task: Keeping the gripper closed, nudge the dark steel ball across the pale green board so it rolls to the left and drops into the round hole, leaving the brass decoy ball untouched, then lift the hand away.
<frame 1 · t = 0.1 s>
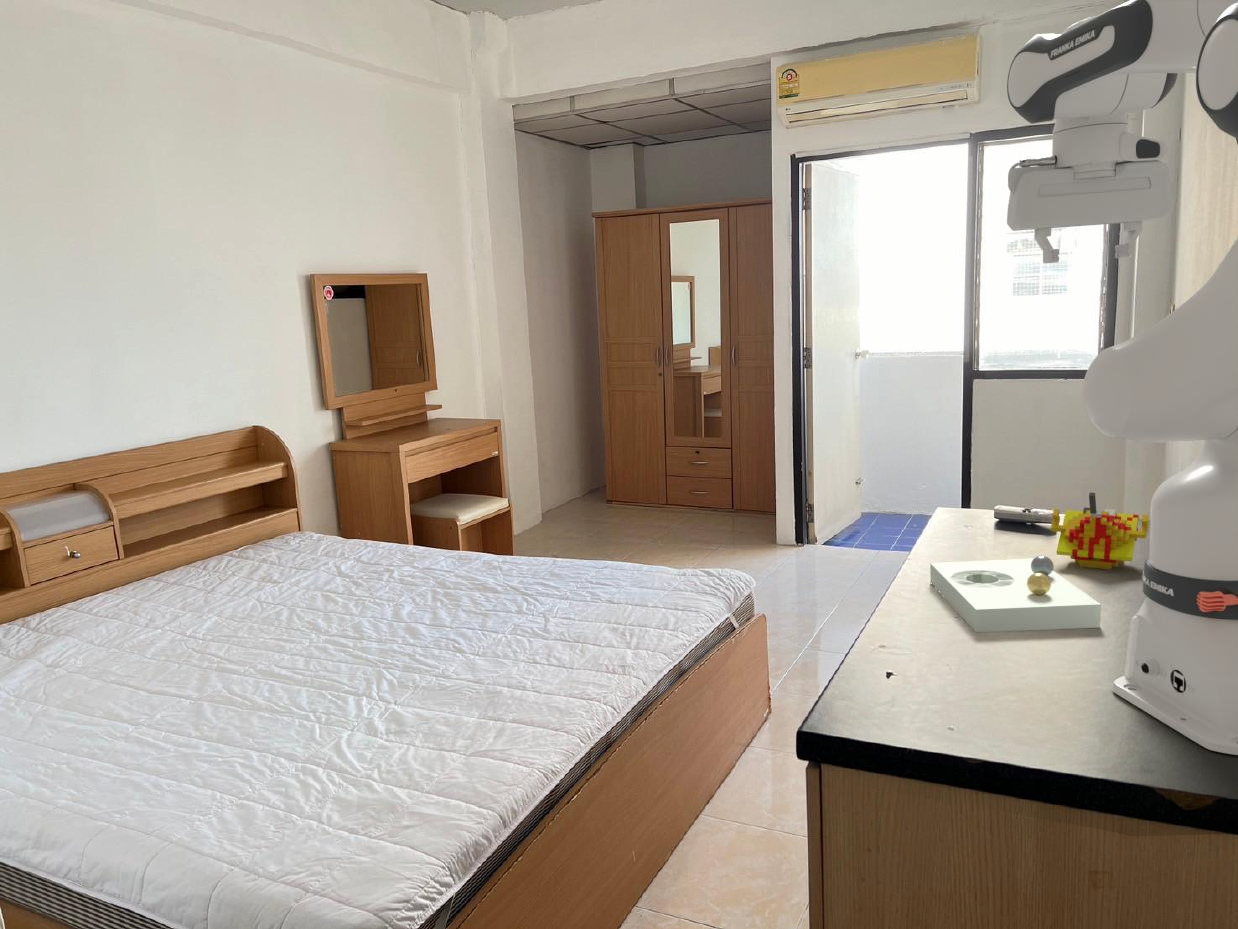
hand: (1087, 260, 122), 48 cm above the dresser, tool pointing down, fingers open, 8 cm apart
ball: (1042, 566, 132), point 5 cm above the dresser, touching board
toy: (1097, 565, 146), on the dresser
decoy ball: (1038, 583, 124), point 5 cm above the dresser, touching board
board: (1007, 603, 131), on the dresser
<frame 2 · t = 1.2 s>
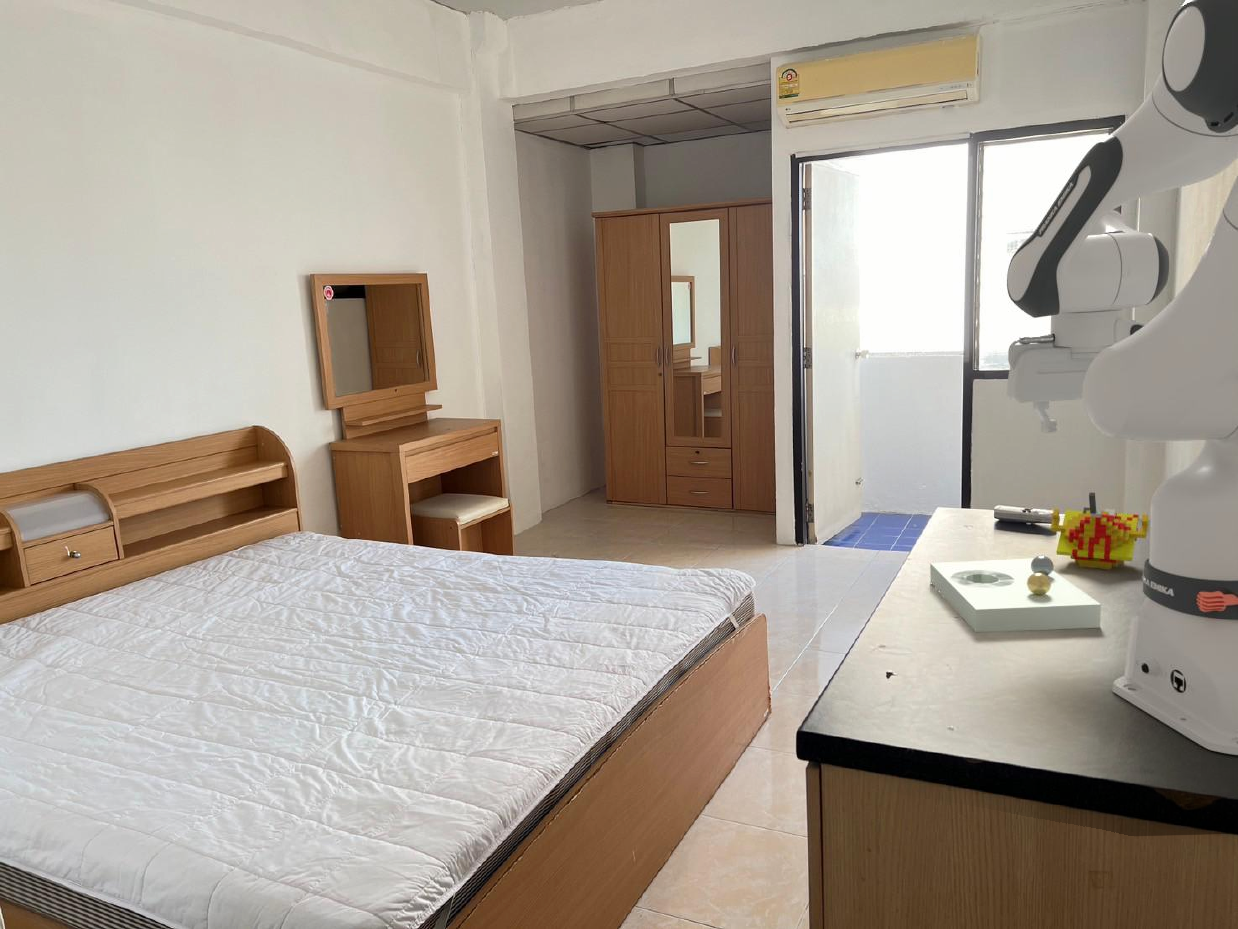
hand: (1083, 430, 128), 24 cm above the dresser, tool pointing down, fingers open, 8 cm apart
nothing on the dresser moved.
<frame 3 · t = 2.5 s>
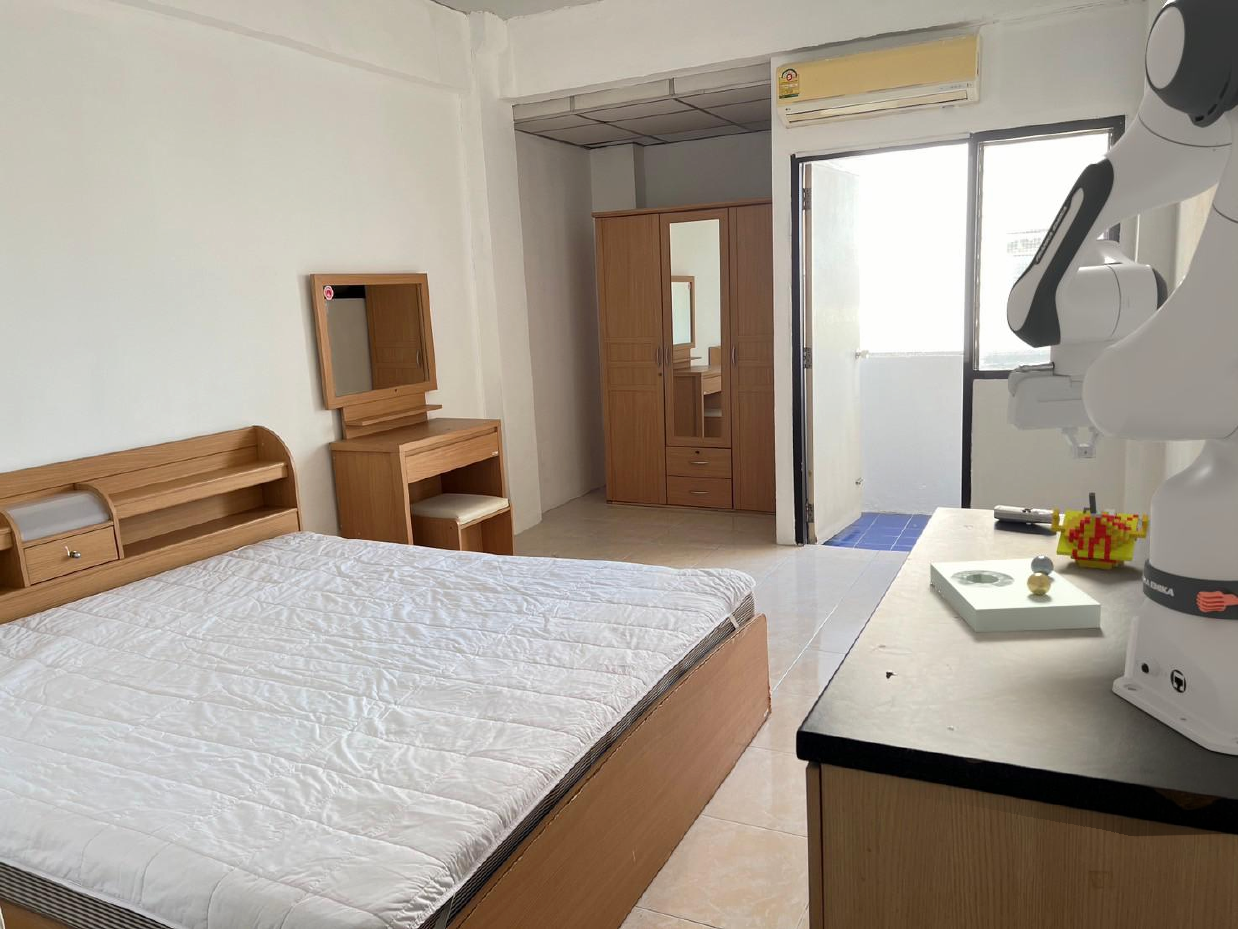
hand: (1082, 457, 129), 20 cm above the dresser, tool pointing down, fingers closed
nothing on the dresser moved.
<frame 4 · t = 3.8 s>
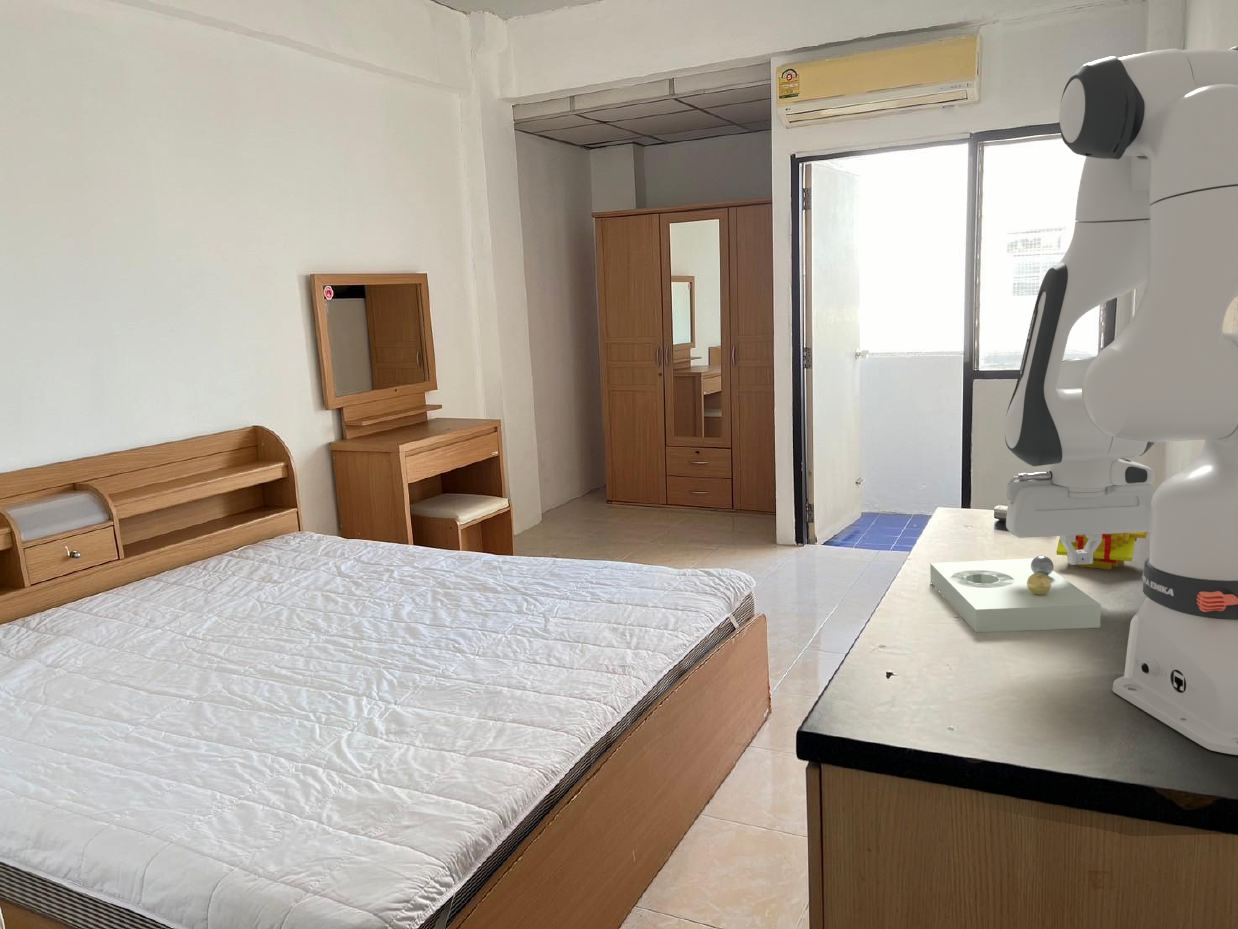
hand: (1079, 563, 131), 5 cm above the dresser, tool pointing down, fingers closed
nothing on the dresser moved.
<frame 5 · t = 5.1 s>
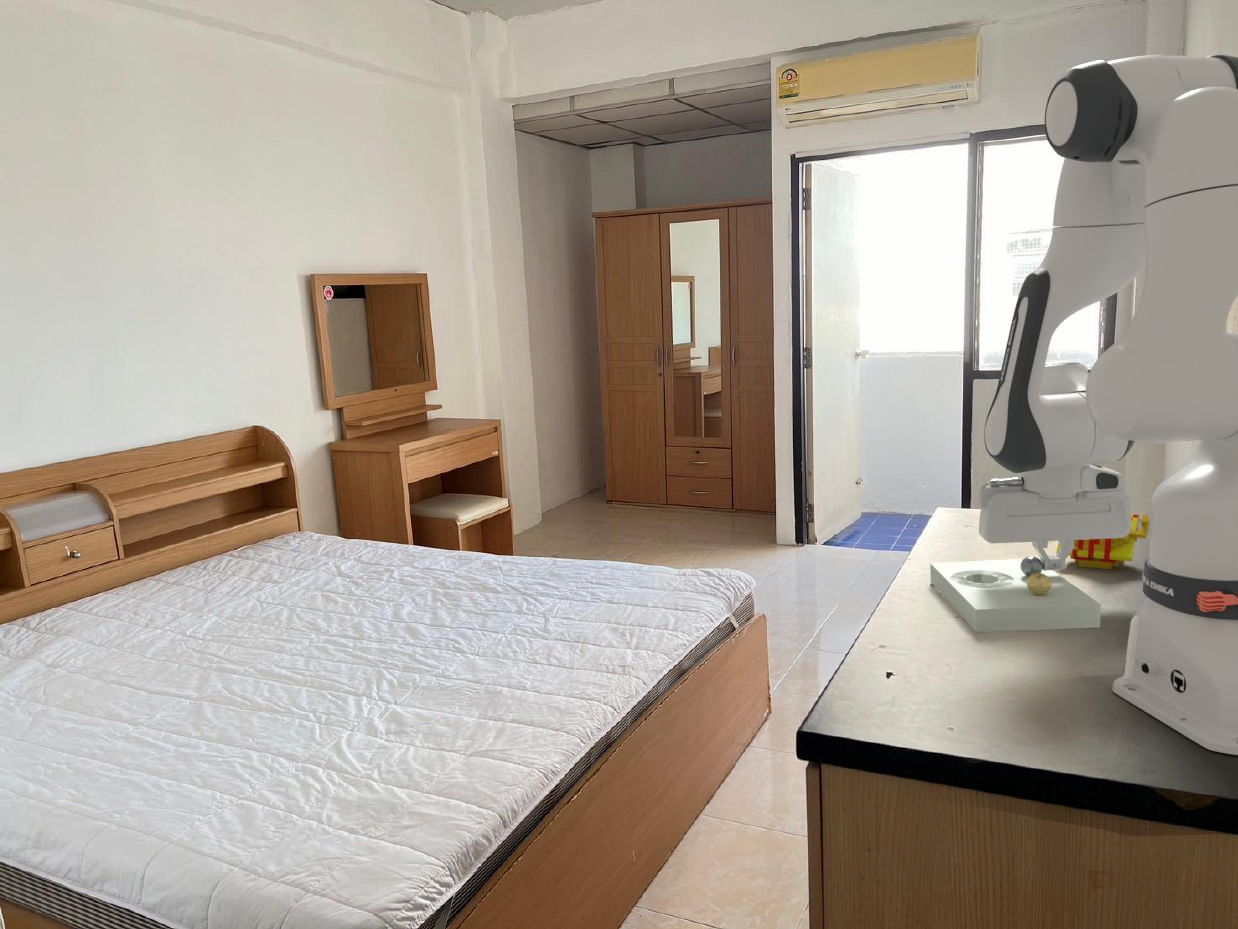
hand: (1052, 569, 132), 4 cm above the dresser, tool pointing down, fingers closed
ball: (1031, 566, 132), point 5 cm above the dresser, tilted 56°, touching board
everything else where it was.
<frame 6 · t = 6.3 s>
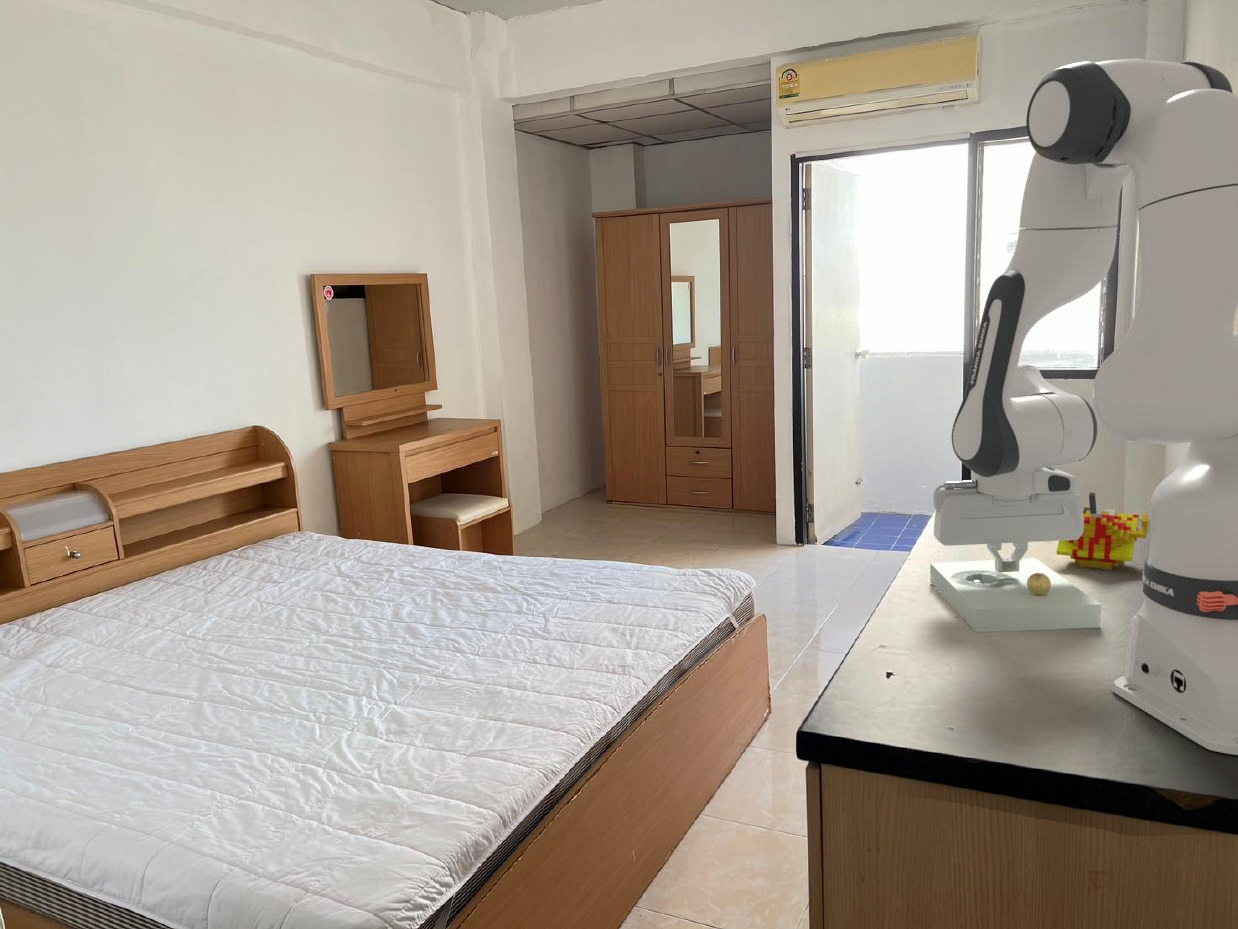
hand: (1006, 571, 132), 4 cm above the dresser, tool pointing down, fingers closed
ball: (976, 590, 133), point 1 cm above the dresser, tilted 32°
everything else where it was.
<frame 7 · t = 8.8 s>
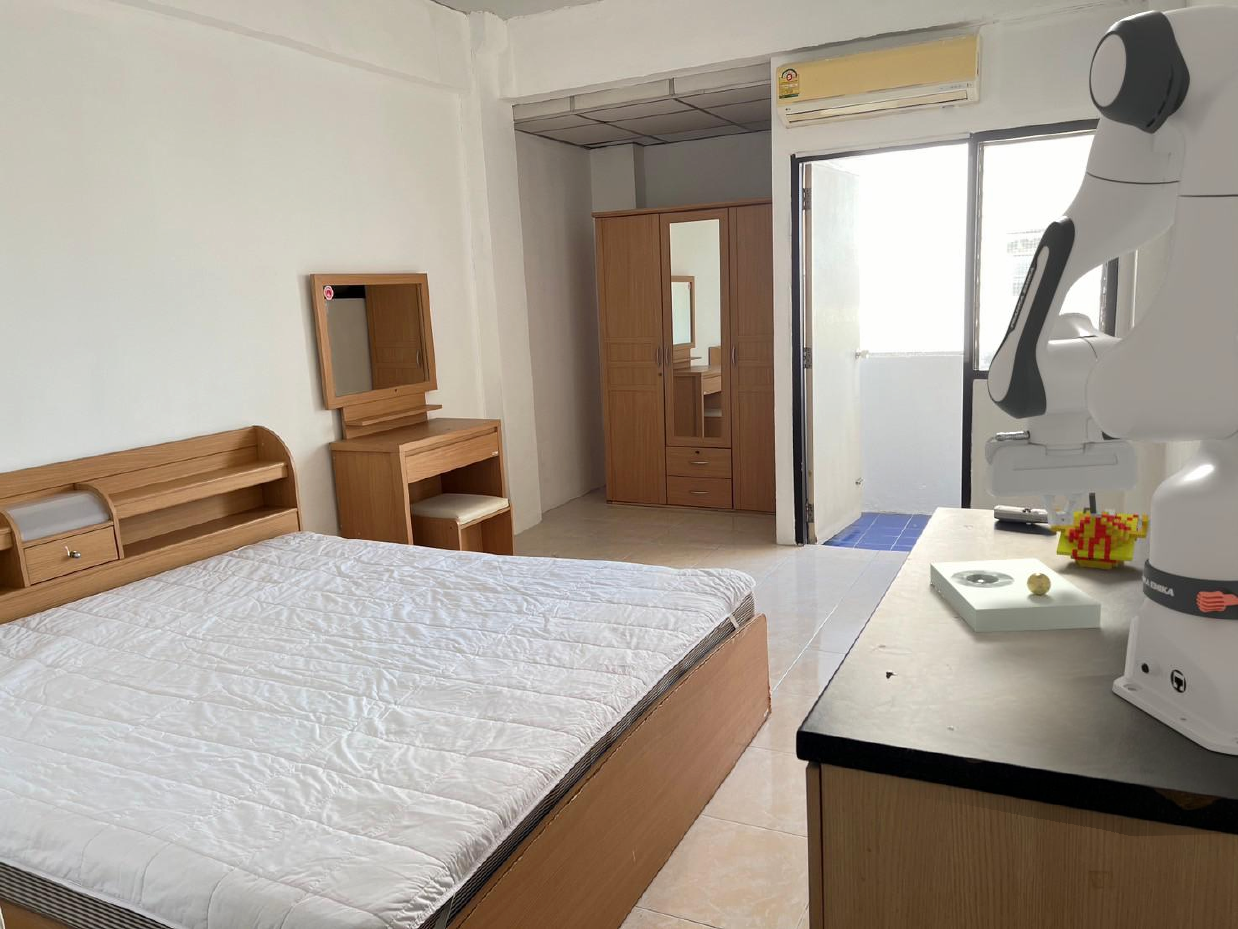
hand: (1060, 524, 130), 11 cm above the dresser, tool pointing down, fingers closed
ball: (981, 589, 133), point 1 cm above the dresser, tilted 8°
everything else where it was.
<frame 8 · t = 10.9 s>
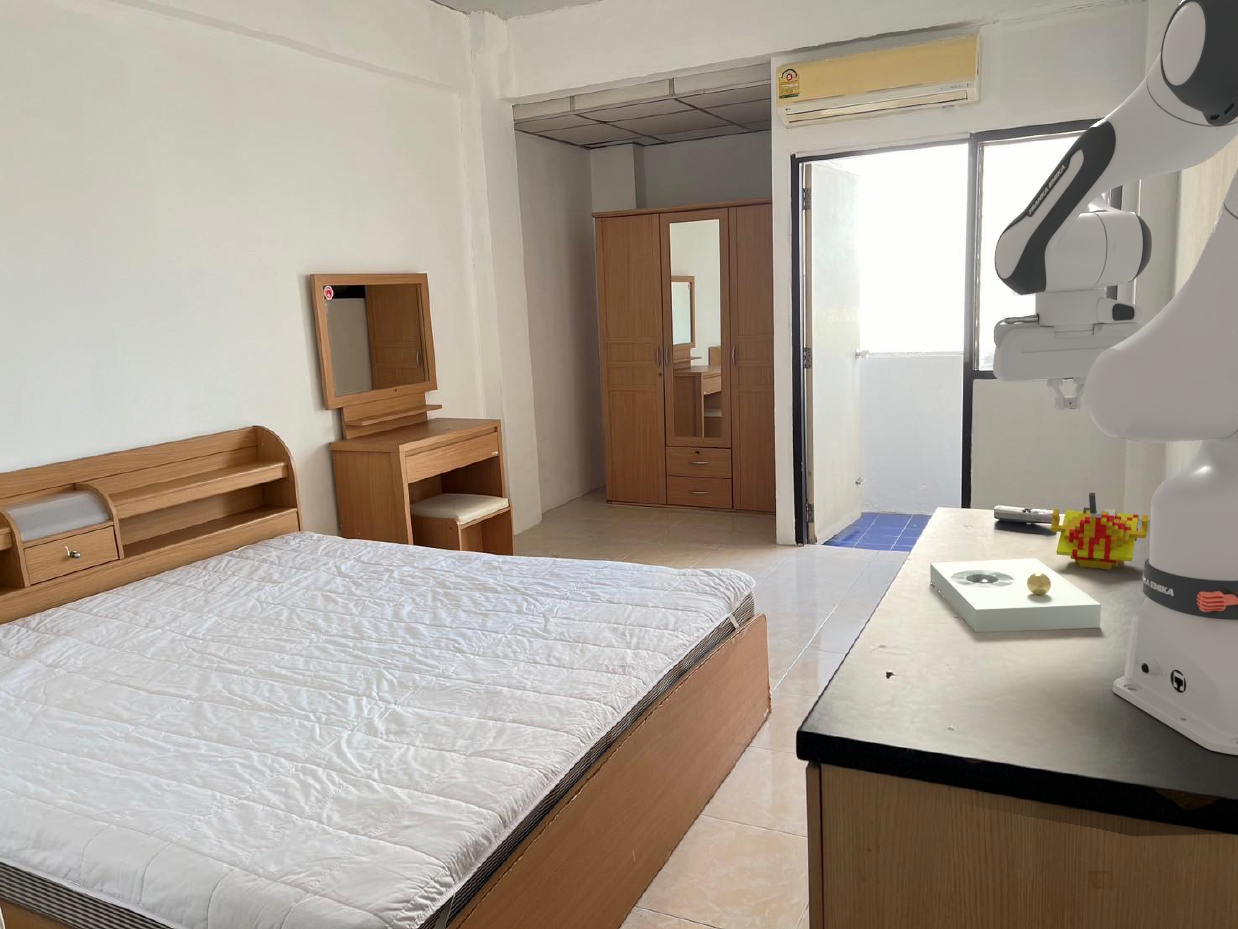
hand: (1067, 408, 130), 27 cm above the dresser, tool pointing down, fingers closed
nothing on the dresser moved.
at the end: ball 0.4 cm from the target spot in the board, point 1.5 cm above the board's base; decoy ball moved 0.0 cm from its start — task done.
